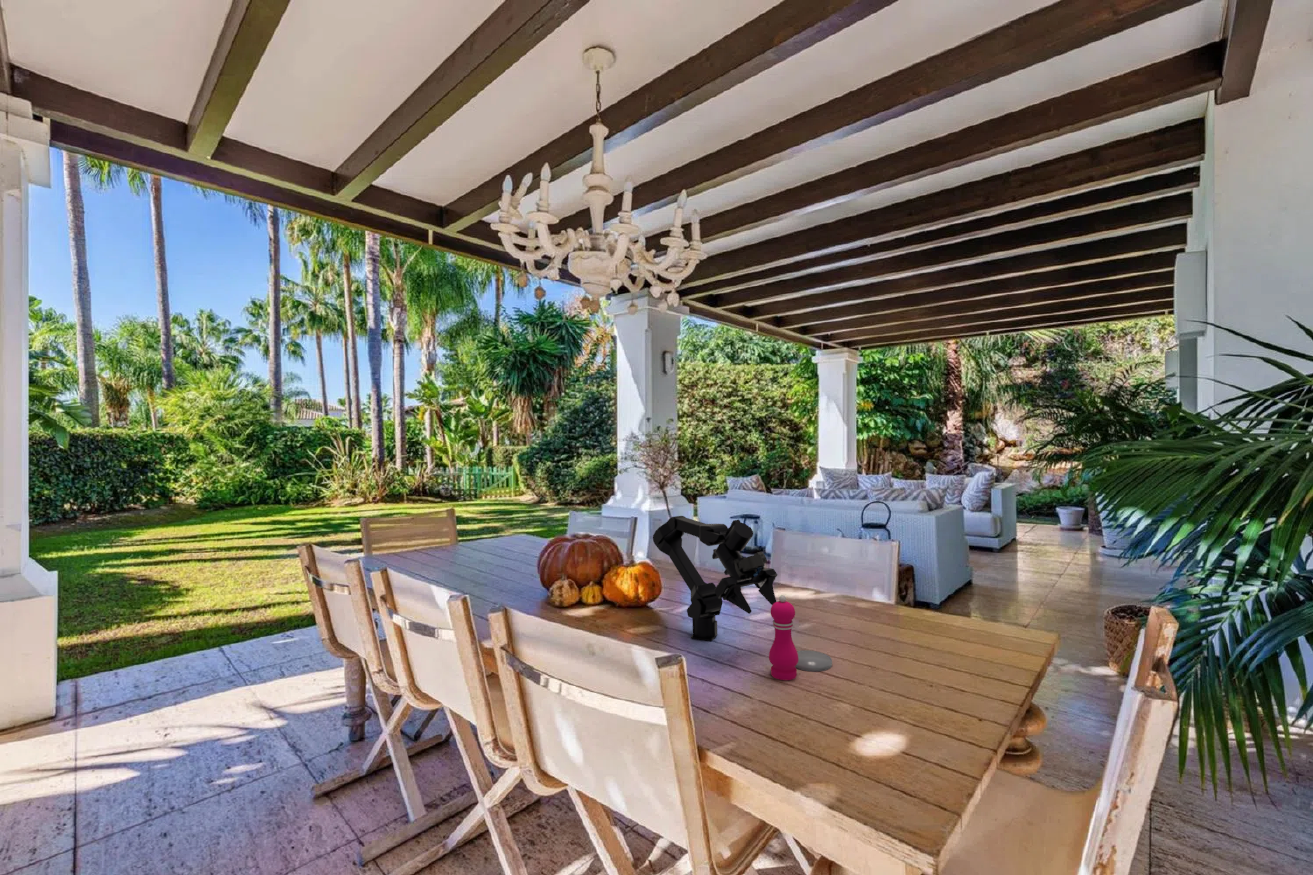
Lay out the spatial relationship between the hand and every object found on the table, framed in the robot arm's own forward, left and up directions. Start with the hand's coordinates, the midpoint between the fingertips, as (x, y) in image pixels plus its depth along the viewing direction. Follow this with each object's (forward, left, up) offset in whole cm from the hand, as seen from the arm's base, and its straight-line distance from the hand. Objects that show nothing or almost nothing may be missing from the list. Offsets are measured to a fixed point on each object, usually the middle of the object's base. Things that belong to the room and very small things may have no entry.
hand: (763, 609), depth 152 cm
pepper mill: (+6, -5, -14) cm, 17 cm away
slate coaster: (+11, +5, -14) cm, 19 cm away
